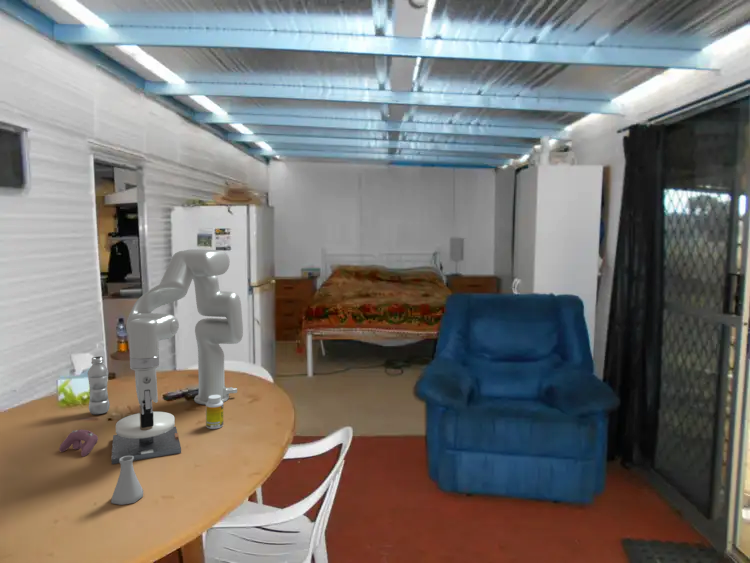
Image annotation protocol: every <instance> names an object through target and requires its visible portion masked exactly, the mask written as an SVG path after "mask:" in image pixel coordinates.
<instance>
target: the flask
mask: <svg viewBox="0 0 750 563" xmlns="http://www.w3.org/2000/svg"><path fill="white" fill-rule="evenodd" d="M133 459H134V456H123V457H121V458H120V459H119V463H118V464H120V471H119V474H118V479H117V482H116V485H115V488H114V491H113V493H112V495H111V501H110V503H111V504H114V505H120V506H121V505H124V506H125V505H128V504H129V505H130V504H134V503H136V502H137V501H139V500H140V499H141V498H143V497H144V488H143V487H142V485H141V483H140V481H139V479H138V476H137V475H136V472H135V470H134V469H135V468H134V465H133V464H134V463H133V462H134V461H133Z"/></svg>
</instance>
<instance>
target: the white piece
mask: <svg viewBox="0 0 750 563" xmlns="http://www.w3.org/2000/svg"><path fill="white" fill-rule="evenodd" d="M144 407H145V406H144ZM141 414H142V407H141V405H140V404H139V412H138V413H134V414H130V415H128V416H125V417H122V418H121V419H119V420H117V422H116V423H115V435H118V436H121V437H124V438H147V437H152V436H157V435H160V434H163V433H165V432H168V431H169V430H171V429H172V428H173V427H175V424H176V423H175V421H176V420H175V416H174V415H173V414H172V413H170V412H165V411H153V421H154V425H153V426H151V427H145V428H142V427H141Z"/></svg>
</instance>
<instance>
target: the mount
mask: <svg viewBox="0 0 750 563" xmlns="http://www.w3.org/2000/svg"><path fill="white" fill-rule="evenodd" d="M177 454H178V455H179V454H182V447H181V442H180V437H179V432H178V429H177V426H175V425H174V427H173V428H172V429H171V430H169V431H168V432H165V433H163V434H160V435H157V436H152V437H147V438H124V437H121V436H118V435H117V434H113V436H112V448H111V465H116V464H120V463H119V459H120V458H121V457H123V456H134V459H133V462H134V461H140V460H146V459H147V460H148V459H153V458H160V457H164V456H172V455H177Z"/></svg>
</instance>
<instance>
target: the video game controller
mask: <svg viewBox="0 0 750 563" xmlns="http://www.w3.org/2000/svg"><path fill="white" fill-rule="evenodd" d="M98 440H99V438H98V435H97V434H95V433H94V432H93V431H90V430H88V429H77V430H72V431H71V432H69V434H68V435H67V437H66V438H65V439H64V440H63V442H61V444H60V446H59V448H58V450H59V452H61V453H64V452H65V451H67V450H68V449H70V448H71V446H72V449H73V450H81V452H80V455H81V457H87V456H88V455H89V454H90V453H91V451H92V450H93V449H94V447H95V446H96V444H97V443H98ZM82 441H83V443H82Z"/></svg>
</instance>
